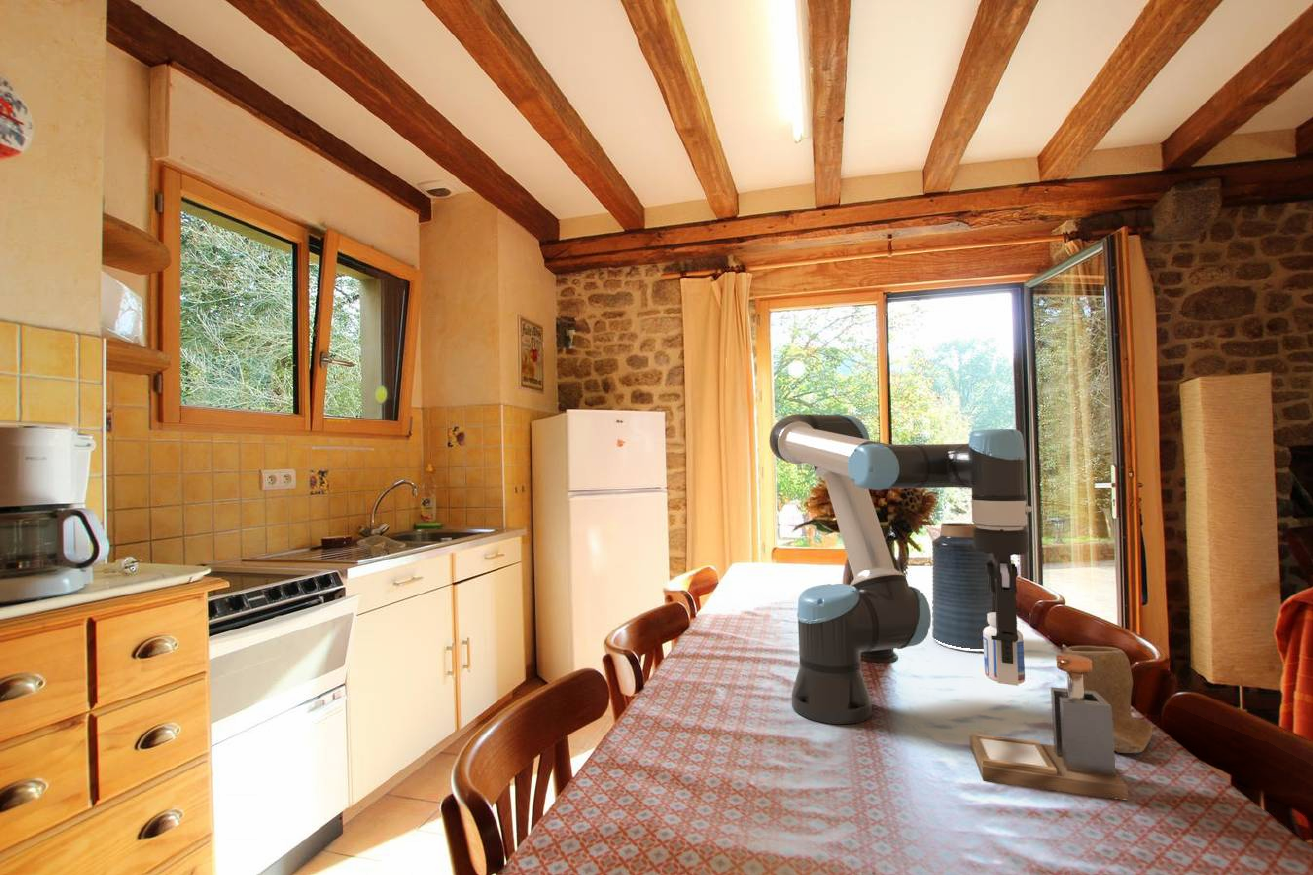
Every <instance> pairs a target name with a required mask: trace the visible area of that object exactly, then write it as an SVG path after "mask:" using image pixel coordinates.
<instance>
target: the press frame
mask: <svg viewBox="0 0 1313 875" xmlns="http://www.w3.org/2000/svg"><path fill="white" fill-rule="evenodd" d="M1050 693H1051V694H1050V697H1051V713H1052V714H1051V715H1052V716H1051V717H1052V729H1053V730H1052V731H1053V735H1052V736H1053V745H1054V752H1055V754H1056V755H1057V757H1063V765H1064V767H1065V768H1066V770H1067V771H1074V772H1081V773H1089V774H1096V775H1104V776H1111V777H1116V773H1117V772H1116V760H1115V758H1116V757H1115V752H1114V739H1113V722H1112V706H1111V705H1110V704H1109V703H1108V702H1106V701H1105V700H1104V699H1103V698H1102V697H1101V696H1100V695H1099V694H1098V693H1097V692H1096V691H1086V690H1084V700H1080V699H1070V698H1068V688H1062V687H1053V686H1051V687H1050Z"/></svg>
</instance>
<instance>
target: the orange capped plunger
mask: <svg viewBox="0 0 1313 875" xmlns="http://www.w3.org/2000/svg"><path fill="white" fill-rule="evenodd" d="M1055 657H1056V668H1057V669H1058V670H1061V671H1063V672H1066V682H1067V683H1066V684H1067V689H1068V698H1070V699H1080V700H1084V687H1083V674H1091V673H1092V660H1090V659H1088V658H1086V657H1083V656H1078V655H1072V654H1064V653H1060V654H1056V656H1055Z"/></svg>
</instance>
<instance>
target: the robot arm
mask: <svg viewBox="0 0 1313 875" xmlns="http://www.w3.org/2000/svg"><path fill="white" fill-rule="evenodd" d="M866 427H867V426H866V425H865V424H864V423H863V422H862V420H861V419H859V418H857V417H856V416H854V415H848V414H843V413H834V414H803V413H801V414H799V413H798V414H792V415H788V416H785V417H783V418H781V419H780V420H778V421H777V422H776V423H775V424H774V426H773V427H772V429H771V431H770V435H769V448H770V449H771V451H772V453H773V454H774V455H775V456H776V457H777V459H779V460H780V461H783V462H786V463H788V464H789V463H790V464H793V465H801V464H807V465H810V466H812V467H813V469H814V471H815V474H816V476H818V477H819V478H821V479H824V483H825V486H826V488H827V492H828V495H829V498H830V502H831V506H832V509H833V512H834V516H835V519H836V522H837V526H838V529H839V533H840V535H841V536H840V537H841V539H842V543H843V547H844V550H845V553H846V556H847V559H848V562H849V566H850V569H851V572H852V576H853V580H851V582H850V584H846V583H845V584H843V583H835V584H831V583H830V584H829V583H827V584H821V585H820V584H819V585H816V586H812V587H809V588H807V589H804V591H802V593H800V595H799V597H798V601H797V613H796V617H797V622H798V623H797V626H798V652H799V654H798V655H799V657H798V658H799V668H798V671H797V675H796V676H795V677H796V678H795V681H794V684H793V688H792V691H791V708H792V709H793V710H794V712H796V713H797V714H799V715H800V716H802V717H804V718H806V719H809V720H812V721H815V722H819V723H824V724H832V725H850V724H852V725H853V724H858V723H862V722H864V721H866V720H869V718H870V717H872V713H873V708H872V707H873V706H872V704H873V703H872V698H871V696H870V693H869V690H868V687H867V684H866V682H865V678H864V676H863V673H862V669H861V668H862V667H861V664H862V663H861V653H864V652H873V651H883V650H893V649H897V650H902V649H905V648H909V647H913V646H918V645H919V644H921V643H923V641H925V640H926V637H927V636H928V634H929V629H930V628H931V624H932V623H931V622H932V621H931V618H932V614H931V609H930V605H929V602H928V600H927V598H926V596H925V595H924V593H923V592H921V590H919V589H918V588H917V587H913V586H909V582H908V580H907V577H906V575H905V574H904V573H902V572H901V571H899V570H897V569H896V568H895V565H894V562H893V559H892V557H891V556H892V555H891V553H890V551H889V547H888V545H887V542H886V538H885V536H884V533H883V529H882V527H881V523H880V520H879V518H878V515H877V511H876V509H875V508H876V507H875V505H874V502H873V500H872V496H871V493H870V491H869V490H875V491H881V490H882V491H883V490H890V489H891V490H893V489H926V488H927V489H928V488H929V489H933V488H934V489H937V488H965V489H967V488H969V489H970V490H971V521H972V522H971V523H972V524H976V525H977V527H975V528H974V529H973V545H974V549H975V550H976V551H978V552H982V553H991V554H992V560H990V561H989V562H986V568H987V573H988V579H989V588H990V589H991V606H992V612H996V629H997V634H996V636H991V639H992V640H996V664H997V684H1002V685H1010V686H1016V687H1019V684H1018V662H1017V640H1018V635H1017V630H1018V624H1017V623H1018V616H1017V597H1016V594H1017V593H1018V590H1017V589H1018V588H1017V587H1018V586H1017V577H1018V574H1019V573H1018V566H1016V563H1012V556H1013V555H1015V556H1022V555H1026V554H1028V553H1029V552H1030V544H1029V539H1030V538H1029V531H1028V530H1027V529H1026V528H1024V527H1026V526H1028V515H1027V514H1026V513H1031V512H1032V511H1033V510H1032V506H1029V505H1027V504H1028V503H1027V500H1028V499H1027V482H1026V481H1027V480H1026V478H1027V477H1026V470H1027V469H1026V468H1027V467H1026V466H1027V465H1026V464H1027V463H1026V460H1027V454H1026V450H1025V441H1024V436H1023V433H1022V432H1021V431H1020V430H1018V429H1015V428H998V429H997V428H995V429H991V428H990V429H980V430H973V431H971V432H970V434H969V441H968V443H950V444H949V443H948V444H947V443H944V444H943V443H938V444H937V443H935V444H933V443H931V444H922V443H921V444H916V443H915V444H893V443H891V444H890V443H885V442H880V441H874V440H872V439H870V434H869V431H868V429H867V428H866ZM1005 631H1006V632H1005Z"/></svg>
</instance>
